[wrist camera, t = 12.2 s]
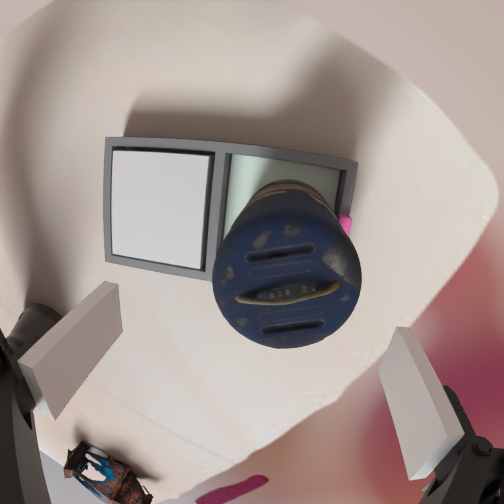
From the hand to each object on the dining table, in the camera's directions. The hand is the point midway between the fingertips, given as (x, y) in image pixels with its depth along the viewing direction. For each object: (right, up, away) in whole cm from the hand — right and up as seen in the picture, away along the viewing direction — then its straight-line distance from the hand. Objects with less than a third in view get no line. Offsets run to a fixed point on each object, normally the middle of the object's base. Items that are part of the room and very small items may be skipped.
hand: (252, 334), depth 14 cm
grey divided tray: (-3, +9, +22) cm, 24 cm away
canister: (+4, +7, +21) cm, 22 cm away
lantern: (-37, -55, +49) cm, 82 cm away
